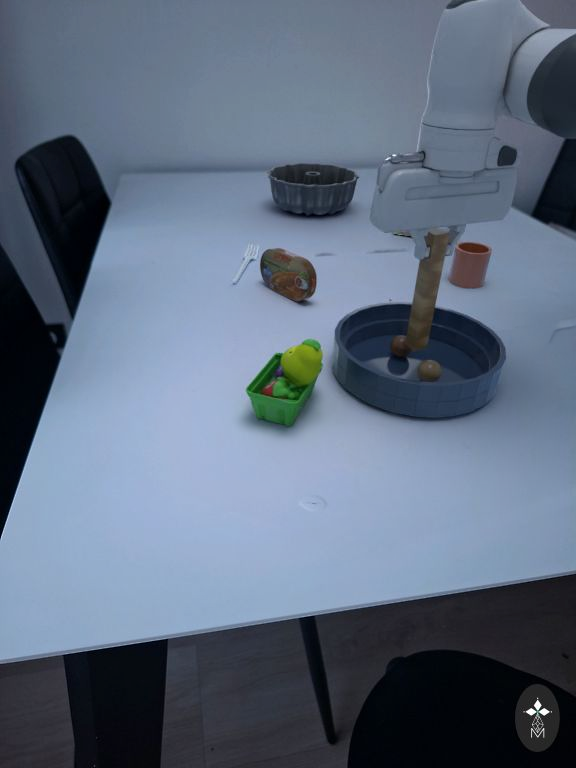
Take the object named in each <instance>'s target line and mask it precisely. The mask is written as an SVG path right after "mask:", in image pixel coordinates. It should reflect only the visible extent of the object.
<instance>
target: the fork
mask: <svg viewBox="0 0 576 768" xmlns="http://www.w3.org/2000/svg"><path fill="white" fill-rule="evenodd" d="M253 245H254V246H253ZM259 250H260V244H257V245H256V243H255V244H253V243H251V244H250V243H248V246H247V248H246V250H245V253H244V255H243V257H242V259H243V261H242V263H241V266H240V267H239V269H238V270H237V272H236V274H235V276H234V277H233V278H232V284H237V282H238V281H239V279H240V277H241V276H242V274H243V273H244V271H245V270H246V267H247V265H249V263H250V261H251V260H258V257H259V252H260V251H259Z"/></svg>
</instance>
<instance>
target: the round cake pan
mask: <svg viewBox="0 0 576 768" xmlns="http://www.w3.org/2000/svg"><path fill="white" fill-rule="evenodd" d="M411 308H412V302H410V301H409V302H408V301H398V302H397V301H392V302H380V303H375V304H369V305H366V306H363V307H359V308H356V309H355V310H352V311H351V312H348V313H347V314H345V315H344V316H343V317H342V318H341V319H340V320H339V321H338V323H337V324H336V325H335V326H336V327H335V328H334V333H333V334H334V335H333V347H332V358H331V359H332V360H331V361H332V365H331V366H332V370H333V373H334V375H335V379H336V380H337V381H338V382H339V383H340V384H341V386H343V388H344V389H345V390H347V391H348V392H349V393H350V394H352V395H353V396H355V397H356V398H358V399H359V400H361V401H364V402H365V403H367V404H369V405H371V406H373V407H376V408H379V409H382V410H383V411H384V410H385V411H387V412H391V413H393V414H399V415H404V416H405V415H406V416H410V417H417V418H447V417H448V418H449V417H456V416H461V415H464V414H468V413H471V412H472V413H473V412H474V411H476V410H478V409H480V408H482V407H485V405H487V403H488V402H490V401H491V400H492V399H493V398H494V396H495V394H496V392H497V389H498V386H499V384H500V380H501V377H502V373H503V370H504V366H505V363H506V360H507V349H506V346H505V344H504V342H503V340H502V338H501V337H500V336H499V335H498V334H497V333H496V332H495V331H494V329H492V328H491V327H489V326H488V325H486V324H484V323H483V322H481V321H480V320H478V319H476V318H474V317H471V316H469V315H468V314H465V313H462V312H459V311H457V310H455V309H450V308H447V307H443V306H439V305H435V309H434V314H433V319H432V324H431V329H430V334H429V339H428V344H427V349H422V350H417V351H413V350H412V351H411V352H410V354H409V355H407V356H405V357H397V356H395V355H394V354H393V353H392V352H391V350H390V343H391V341H392V339H393V338H395V337H396V336H399V335H404V336H407V331H408V325H409V319H410V314H411ZM425 360H434V361H436V362H437V363H439V365H440V366H441V370H442V373H441V376H440V378H439V379H438V380H437V381H436V382H423V381H421V380H420V379H419V377H418V375H417V368H418V366H419V364H420V363H421V362H423V361H425Z"/></svg>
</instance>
